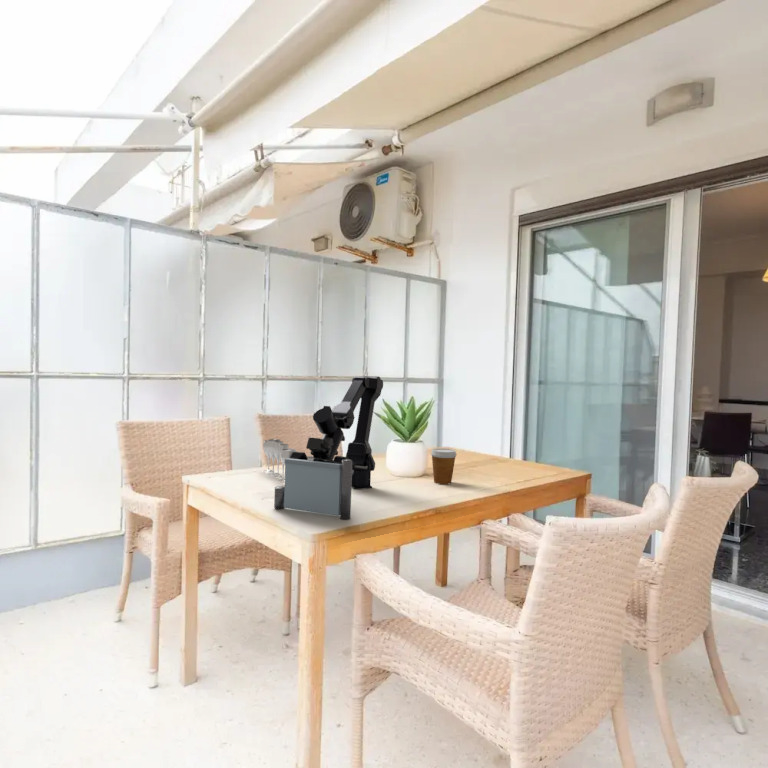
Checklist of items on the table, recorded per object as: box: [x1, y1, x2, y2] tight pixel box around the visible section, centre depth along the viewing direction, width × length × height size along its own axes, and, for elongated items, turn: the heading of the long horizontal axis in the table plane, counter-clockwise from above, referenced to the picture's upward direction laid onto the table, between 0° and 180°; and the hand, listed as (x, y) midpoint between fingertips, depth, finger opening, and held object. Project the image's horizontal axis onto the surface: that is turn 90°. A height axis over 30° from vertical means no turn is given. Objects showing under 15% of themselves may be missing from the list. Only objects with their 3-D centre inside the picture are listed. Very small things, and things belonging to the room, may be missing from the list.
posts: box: [273, 459, 352, 521], centre depth 147 cm, size 24×3×16 cm, turn 68°
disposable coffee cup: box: [430, 448, 457, 485], centre depth 192 cm, size 10×10×12 cm
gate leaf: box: [284, 458, 342, 517], centre depth 146 cm, size 18×2×14 cm, turn 68°
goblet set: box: [262, 438, 297, 480], centre depth 193 cm, size 28×6×13 cm, turn 30°
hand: (310, 487), depth 149 cm, fingers closed
